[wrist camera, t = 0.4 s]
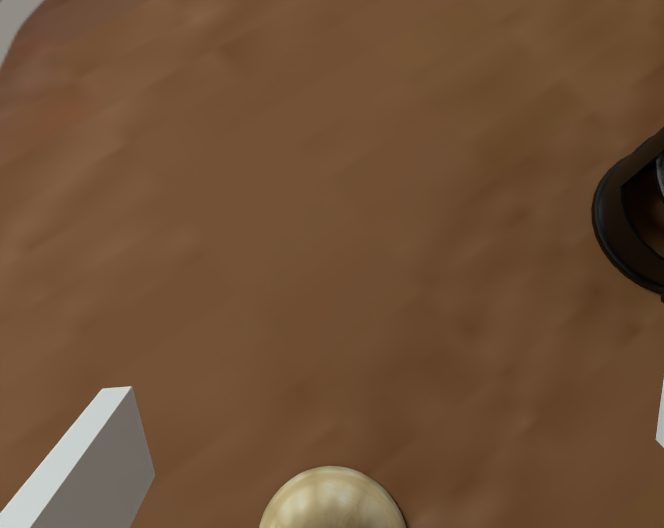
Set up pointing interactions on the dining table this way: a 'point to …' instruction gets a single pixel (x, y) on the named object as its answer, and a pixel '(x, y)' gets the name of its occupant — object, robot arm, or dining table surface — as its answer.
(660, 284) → the french press
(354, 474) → the hand bell
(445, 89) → the dining table surface
